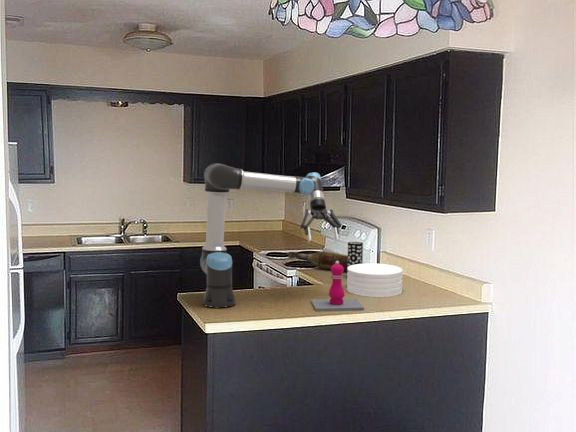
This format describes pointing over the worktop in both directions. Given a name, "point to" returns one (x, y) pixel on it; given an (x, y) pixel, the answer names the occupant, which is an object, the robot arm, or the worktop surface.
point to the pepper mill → (336, 285)
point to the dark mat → (326, 306)
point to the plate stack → (374, 280)
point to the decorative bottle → (322, 259)
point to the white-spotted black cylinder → (355, 253)
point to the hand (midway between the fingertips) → (323, 240)
